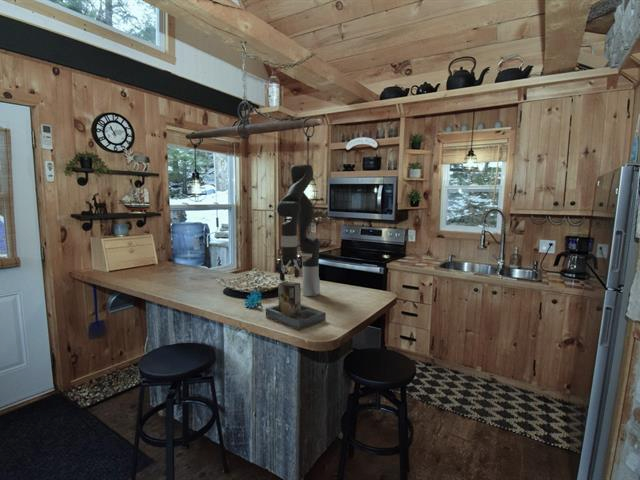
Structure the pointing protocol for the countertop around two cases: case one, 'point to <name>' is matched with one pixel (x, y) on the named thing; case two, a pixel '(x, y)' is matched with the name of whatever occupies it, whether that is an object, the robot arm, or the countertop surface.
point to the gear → (253, 300)
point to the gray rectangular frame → (297, 317)
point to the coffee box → (289, 297)
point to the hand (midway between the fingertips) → (289, 279)
